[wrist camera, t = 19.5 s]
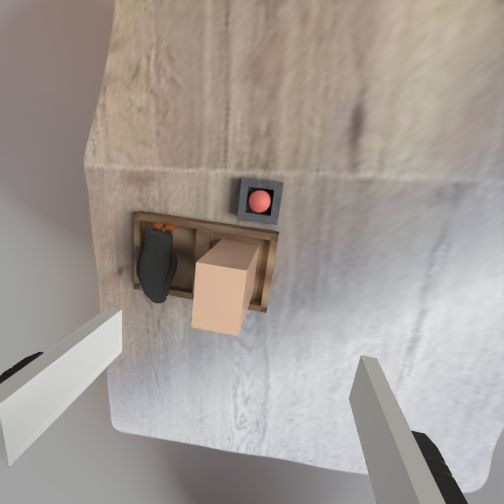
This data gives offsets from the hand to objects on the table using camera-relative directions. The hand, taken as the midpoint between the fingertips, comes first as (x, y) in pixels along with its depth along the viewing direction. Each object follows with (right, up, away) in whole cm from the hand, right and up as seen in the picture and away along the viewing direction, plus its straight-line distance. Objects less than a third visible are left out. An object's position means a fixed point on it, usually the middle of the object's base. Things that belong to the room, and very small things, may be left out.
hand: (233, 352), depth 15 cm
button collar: (+3, +15, +34) cm, 37 cm away
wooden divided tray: (-8, +4, +39) cm, 40 cm away
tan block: (-2, +3, +37) cm, 37 cm away
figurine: (-15, +4, +37) cm, 40 cm away
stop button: (+3, +15, +34) cm, 37 cm away
